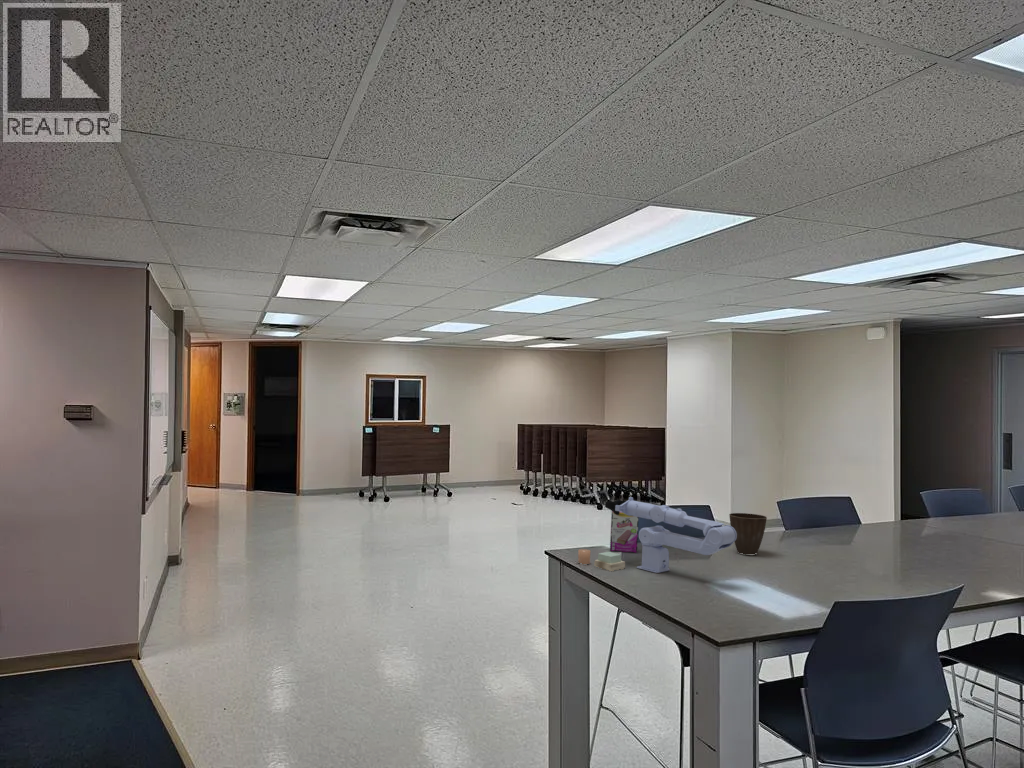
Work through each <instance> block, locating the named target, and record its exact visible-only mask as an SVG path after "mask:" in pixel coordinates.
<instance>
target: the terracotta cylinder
mask: <svg viewBox="0 0 1024 768" xmlns="http://www.w3.org/2000/svg"><path fill="white" fill-rule="evenodd" d="M591 552H592V551H591V549H587V548H579V549H578V553H577V563H578V562H579V563H582V564H590V565H591Z"/></svg>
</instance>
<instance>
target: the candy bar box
mask: <svg viewBox="0 0 1024 768" xmlns="http://www.w3.org/2000/svg"><path fill="white" fill-rule="evenodd" d="M610 515H611V517H610V536H609V537H610V538H609V539H610V540H609V552H617V553H618V552H619V553H632V552H633V554H634V553H637V554H638V542H639V541H638V540H639V518H640V517H636V516H629V515H626V514H624V513H622V512H620V511H619V515H616V514H615V513H614V512H613V511H611V514H610Z"/></svg>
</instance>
